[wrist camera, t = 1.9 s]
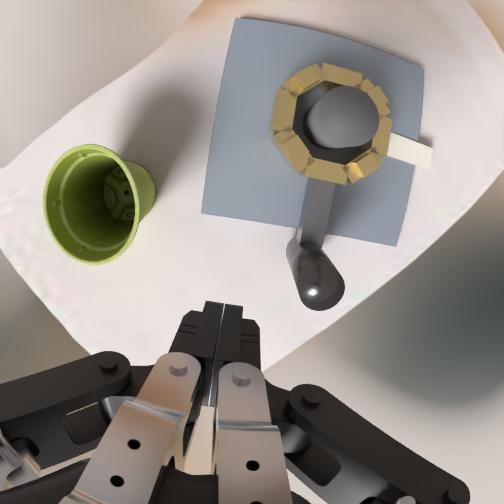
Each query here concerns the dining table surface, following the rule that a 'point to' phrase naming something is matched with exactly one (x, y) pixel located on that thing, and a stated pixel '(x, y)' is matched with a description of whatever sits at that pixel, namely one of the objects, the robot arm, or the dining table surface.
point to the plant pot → (95, 203)
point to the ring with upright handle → (322, 178)
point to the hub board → (261, 161)
